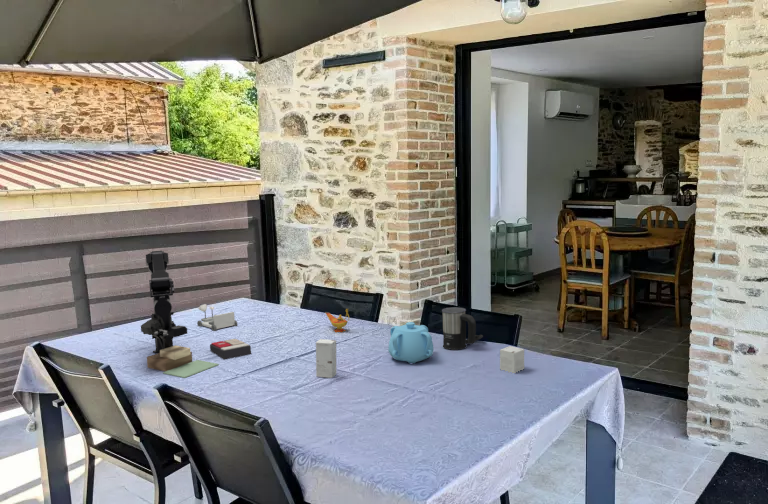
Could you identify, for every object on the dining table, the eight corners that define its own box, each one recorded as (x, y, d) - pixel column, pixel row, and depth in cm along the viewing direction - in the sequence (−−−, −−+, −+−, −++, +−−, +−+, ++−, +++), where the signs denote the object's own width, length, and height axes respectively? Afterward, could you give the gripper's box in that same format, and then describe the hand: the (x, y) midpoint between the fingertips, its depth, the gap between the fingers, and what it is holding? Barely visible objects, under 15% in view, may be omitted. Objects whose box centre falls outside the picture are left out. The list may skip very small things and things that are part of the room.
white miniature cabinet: (315, 377, 213) (314, 342, 211) (321, 372, 217) (319, 338, 216) (332, 378, 211) (331, 343, 210) (337, 374, 215) (336, 339, 214)
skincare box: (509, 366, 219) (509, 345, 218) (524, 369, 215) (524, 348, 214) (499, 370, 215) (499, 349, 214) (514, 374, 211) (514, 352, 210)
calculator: (235, 337, 254) (250, 343, 241) (236, 348, 254) (251, 354, 242) (209, 342, 247) (223, 348, 235) (210, 353, 248) (224, 360, 235)
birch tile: (160, 356, 227) (159, 350, 227) (175, 351, 233) (175, 345, 233) (175, 359, 223) (174, 353, 223) (190, 354, 229) (190, 348, 229)
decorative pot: (433, 352, 238) (433, 317, 236) (433, 365, 222) (432, 328, 220) (390, 352, 239) (389, 317, 237) (387, 365, 223) (386, 328, 221)
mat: (162, 373, 221) (162, 372, 221) (197, 360, 235) (197, 359, 235) (184, 378, 215) (184, 377, 215) (218, 364, 229) (218, 363, 229)
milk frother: (439, 349, 242) (438, 311, 240) (451, 338, 256) (450, 302, 254) (475, 352, 236) (475, 313, 234) (485, 341, 251) (485, 305, 249)
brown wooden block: (147, 367, 228) (146, 357, 227) (173, 358, 238) (173, 348, 238) (166, 371, 223) (165, 360, 222) (192, 362, 233) (191, 351, 233)
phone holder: (193, 305, 289) (215, 300, 297) (194, 325, 290) (216, 321, 298) (213, 310, 276) (236, 305, 284) (215, 332, 277) (237, 327, 286)
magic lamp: (332, 325, 283) (331, 301, 281) (356, 332, 269) (355, 307, 267) (319, 328, 278) (318, 303, 277) (343, 335, 264) (342, 310, 263)
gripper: (126, 312, 227) (130, 354, 229) (161, 317, 217) (165, 361, 219) (152, 306, 236) (155, 346, 238) (187, 310, 226) (189, 352, 229)
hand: (165, 351), depth 231 cm, fingers closed
